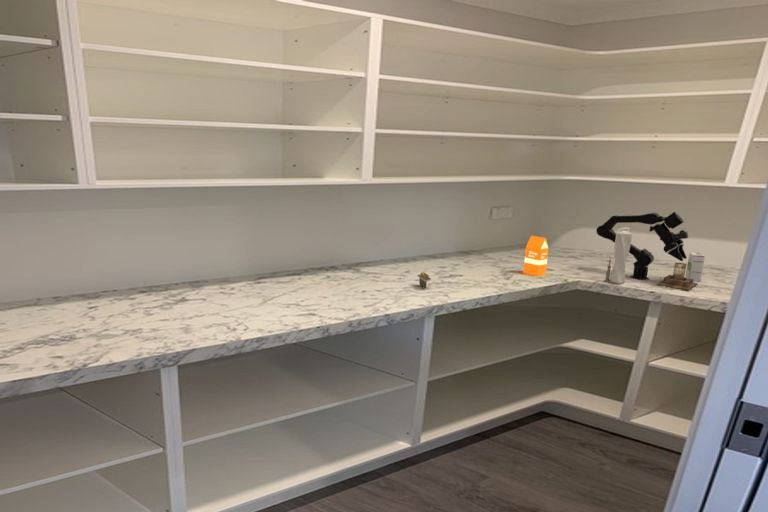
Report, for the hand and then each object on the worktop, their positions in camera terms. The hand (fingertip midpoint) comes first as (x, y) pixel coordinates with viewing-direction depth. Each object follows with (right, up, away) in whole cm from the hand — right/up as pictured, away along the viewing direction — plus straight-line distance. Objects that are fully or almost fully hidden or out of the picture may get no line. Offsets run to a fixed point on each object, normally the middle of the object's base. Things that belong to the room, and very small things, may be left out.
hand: (684, 259), depth 249 cm
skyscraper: (-32, -12, +4) cm, 35 cm away
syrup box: (+14, -11, +15) cm, 23 cm away
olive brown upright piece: (-132, -13, -18) cm, 134 cm away
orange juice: (-71, -8, +15) cm, 73 cm away
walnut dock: (-2, -13, +3) cm, 13 cm away
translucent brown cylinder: (-2, -12, +3) cm, 12 cm away
